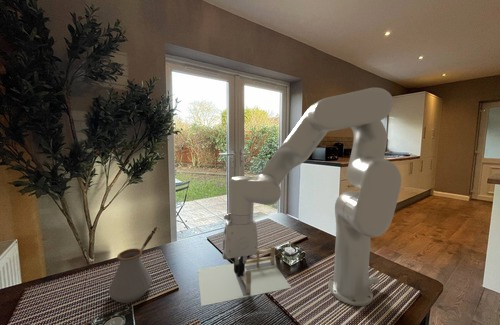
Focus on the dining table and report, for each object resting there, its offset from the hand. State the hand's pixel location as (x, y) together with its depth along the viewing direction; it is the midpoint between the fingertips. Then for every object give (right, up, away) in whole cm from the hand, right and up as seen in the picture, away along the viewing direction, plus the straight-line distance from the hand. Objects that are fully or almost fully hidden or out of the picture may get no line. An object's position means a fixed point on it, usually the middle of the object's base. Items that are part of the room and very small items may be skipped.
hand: (239, 274), depth 67 cm
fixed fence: (+6, -4, +12) cm, 14 cm away
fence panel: (+1, -4, +4) cm, 6 cm away
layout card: (+1, -5, +6) cm, 7 cm away
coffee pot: (-32, -5, +3) cm, 33 cm away
